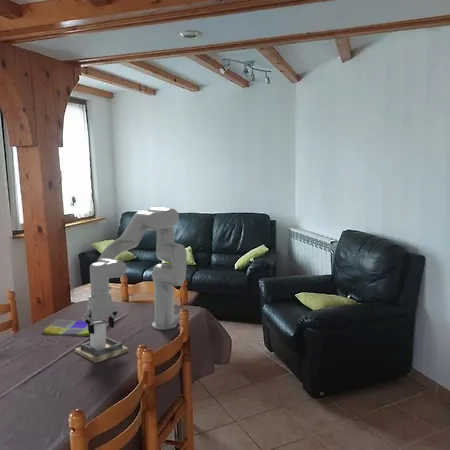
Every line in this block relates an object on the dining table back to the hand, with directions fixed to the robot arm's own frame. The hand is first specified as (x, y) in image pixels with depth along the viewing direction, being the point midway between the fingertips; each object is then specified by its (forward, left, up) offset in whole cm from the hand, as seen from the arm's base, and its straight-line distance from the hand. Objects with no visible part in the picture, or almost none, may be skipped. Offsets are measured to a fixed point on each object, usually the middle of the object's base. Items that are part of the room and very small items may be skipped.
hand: (101, 330), depth 192 cm
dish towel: (-5, -34, -10) cm, 36 cm away
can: (+2, 0, -8) cm, 8 cm away
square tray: (0, 0, -10) cm, 10 cm away
